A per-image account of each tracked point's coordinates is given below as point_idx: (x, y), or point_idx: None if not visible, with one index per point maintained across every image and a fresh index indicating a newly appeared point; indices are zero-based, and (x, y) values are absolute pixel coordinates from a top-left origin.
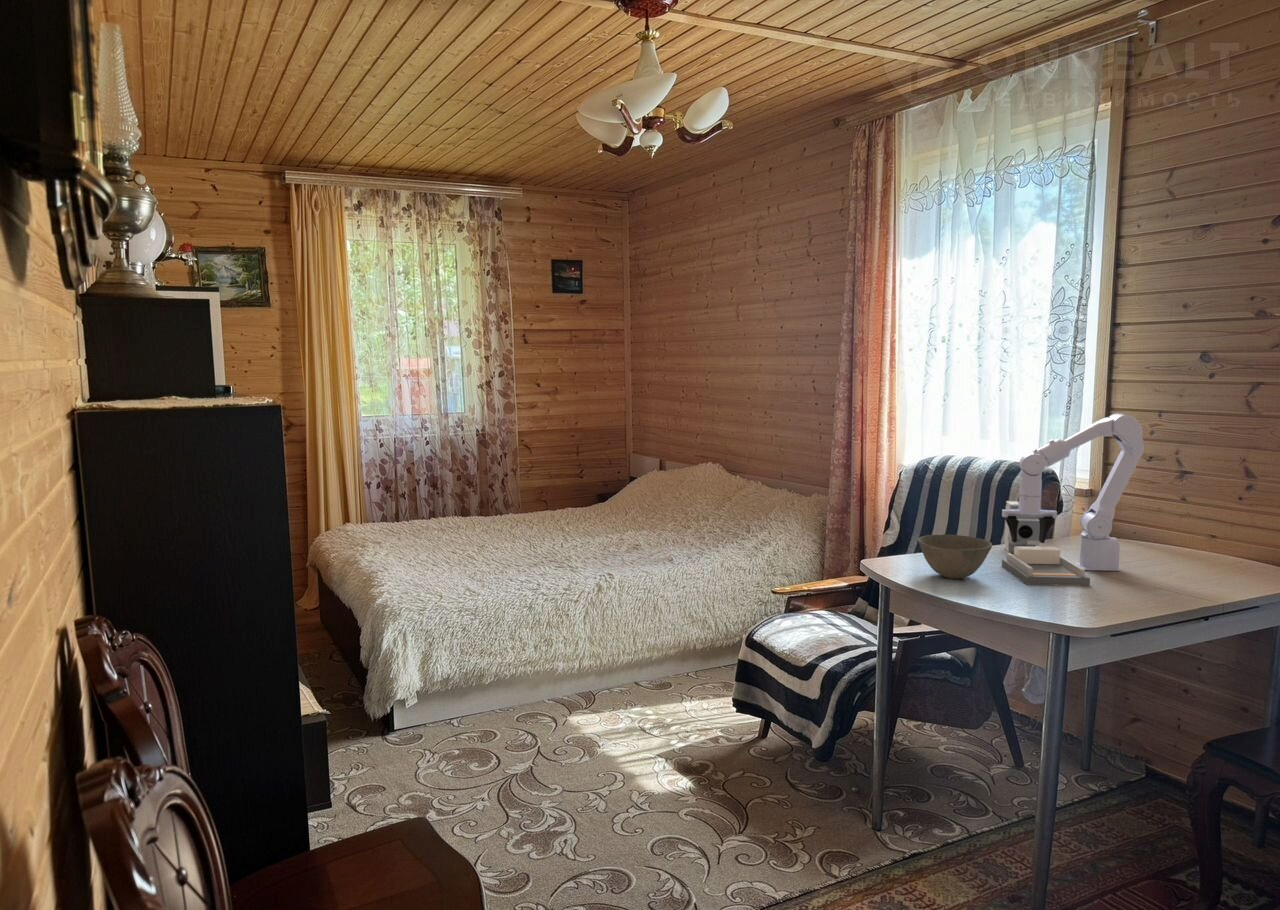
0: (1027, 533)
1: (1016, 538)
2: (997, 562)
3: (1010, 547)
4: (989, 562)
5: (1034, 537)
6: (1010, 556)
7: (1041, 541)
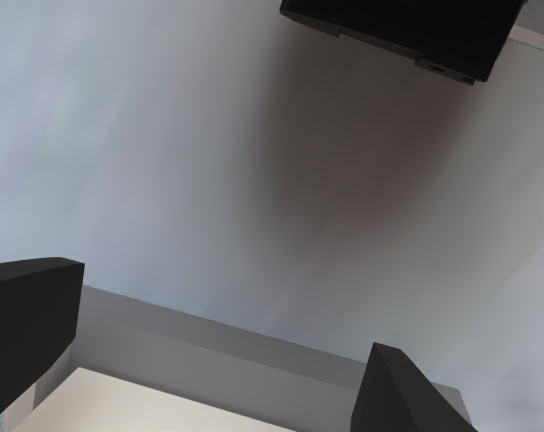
0: (392, 51)
1: (38, 374)
2: (73, 172)
3: None
4: (17, 162)
5: (533, 16)
6: (7, 428)
7: (355, 414)
